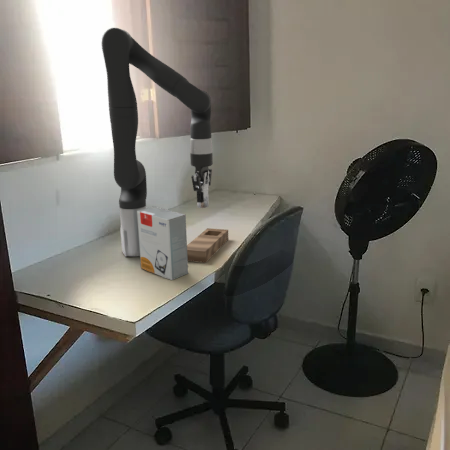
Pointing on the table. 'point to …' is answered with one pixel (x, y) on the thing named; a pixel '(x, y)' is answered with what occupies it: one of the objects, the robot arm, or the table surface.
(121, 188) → the robot arm
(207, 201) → the brushed metal cylinder
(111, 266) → the table surface
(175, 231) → the hard drive box
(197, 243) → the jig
